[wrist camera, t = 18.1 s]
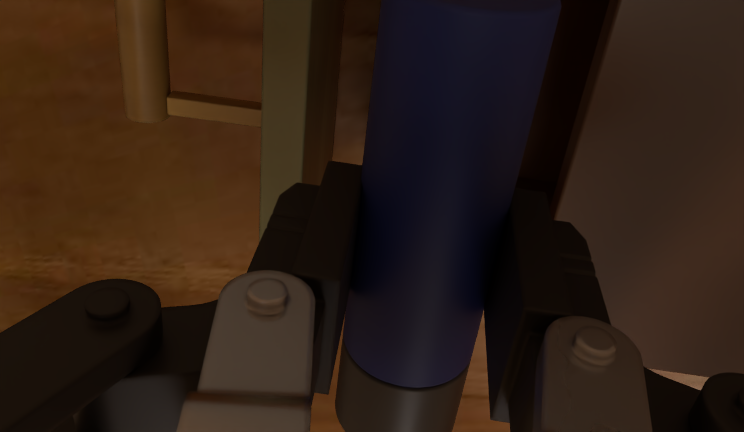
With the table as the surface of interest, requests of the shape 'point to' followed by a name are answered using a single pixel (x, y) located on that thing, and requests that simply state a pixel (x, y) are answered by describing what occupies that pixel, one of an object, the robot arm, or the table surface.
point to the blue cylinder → (435, 200)
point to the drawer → (333, 88)
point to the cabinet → (665, 179)
